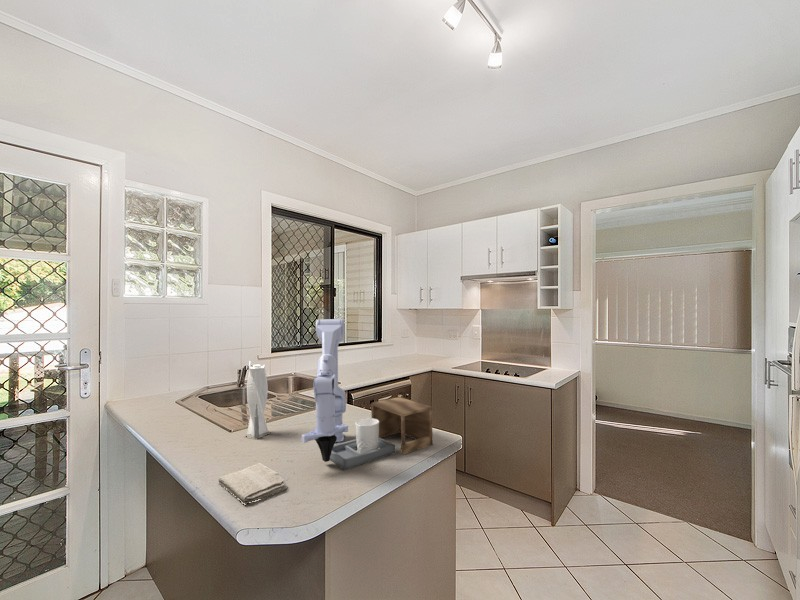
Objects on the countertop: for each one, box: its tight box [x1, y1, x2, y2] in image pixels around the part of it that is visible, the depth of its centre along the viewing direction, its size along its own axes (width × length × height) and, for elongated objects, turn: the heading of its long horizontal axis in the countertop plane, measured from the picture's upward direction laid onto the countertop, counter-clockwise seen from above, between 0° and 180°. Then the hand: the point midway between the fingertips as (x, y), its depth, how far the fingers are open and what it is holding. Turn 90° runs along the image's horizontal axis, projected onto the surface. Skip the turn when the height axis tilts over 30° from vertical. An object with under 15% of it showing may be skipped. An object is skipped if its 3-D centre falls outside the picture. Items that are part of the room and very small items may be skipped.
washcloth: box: [218, 462, 287, 505], centre depth 96 cm, size 12×18×3 cm, turn 48°
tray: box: [329, 437, 396, 471], centre depth 115 cm, size 19×13×3 cm
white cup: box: [354, 417, 379, 454], centre depth 117 cm, size 8×8×10 cm
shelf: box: [370, 396, 434, 455], centre depth 126 cm, size 13×18×13 cm
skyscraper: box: [245, 360, 272, 440], centre depth 136 cm, size 8×8×28 cm
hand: (326, 460), depth 108 cm, fingers closed
